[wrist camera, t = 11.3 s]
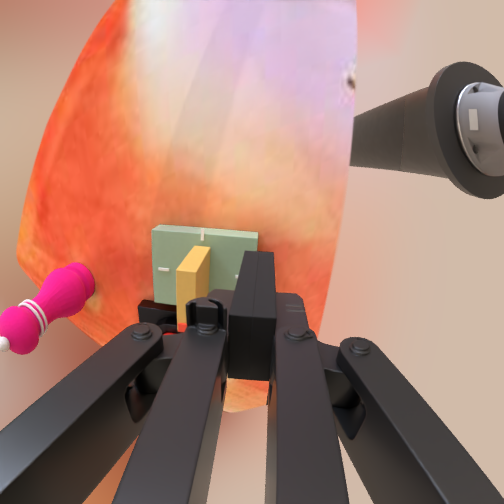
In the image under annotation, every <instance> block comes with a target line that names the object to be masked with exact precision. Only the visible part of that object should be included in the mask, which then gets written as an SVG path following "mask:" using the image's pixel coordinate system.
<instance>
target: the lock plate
mask: <svg viewBox="0 0 504 504" xmlns="http://www.w3.org/2000/svg"><path fill="white" fill-rule="evenodd" d="M257 245H258V232H249V231H238V230H226V229H214V228H201V227H188V226H175V225H161V224H160V225H158V226H156V227H155V228H153V229H152V267H153V287H154V302H156V303H164V304H171V305H177V300H176V269H177V268H178V267H179V265H180V264H181V263H182V261H183V260H184V259H185V257H186V256H187V255H188V253H189V252H190V251H191V250H192V248H193V247H194V246H205V247H210V248H211V250H210V271H209V292H211V291H212V290H214V289H225V290H235V287H236V283H237V279H238V275H239V271H240V267H241V263H242V259H243V256H244V252H245V250H246V251H257Z"/></svg>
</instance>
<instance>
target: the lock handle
mask: <svg viewBox="0 0 504 504" xmlns="http://www.w3.org/2000/svg"><path fill="white" fill-rule="evenodd" d="M210 250H211V248H210V247H205V246H194V247H193V248H192V250H191V251H190V252H189V253H188V255H187V256H186V257H185V259H184V260H183V261H182V263H181V264H180V265H179V267H178V268H177V269H176V300H177V330H178V332H185V329H186V327H187V323H186V306H185V304H186V303H187V302H188V301H190V300H192V299H195V298H200V297H207V295H208V293H209V271H210Z"/></svg>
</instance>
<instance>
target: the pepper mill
mask: <svg viewBox="0 0 504 504" xmlns="http://www.w3.org/2000/svg"><path fill="white" fill-rule="evenodd" d="M94 289H95V283H94V279H93V276H92V274H91V273H90V271H89V270H88V269H87V268H86V267H85V266H84V265H82V264H80V263H71V264H69V265H68V266H66V267H64V268H59V269H56V270H54V271H53V272H51V273H50V274H49V275H48V276H47V278H46V279H45V281H44V283H43V285H42V287H41V290H40V292H39V293H38V295H37V296H36V297H35V298H34V299H32V300H28V299H27V300H24V301H23V302H22V303H20V304H19V306H18V307H17V306H12V307H9V308H7V309H6V310H5V311H4V312H3V313H2V315H1V316H0V336H1V337H0V350H1V351H3V352H6V351H8V350H9V349H10V350H11V351H13V352H15V353H17V354H21V355H23V354H28V353H30V352H31V351H33V350H34V349H35V347H36V346H37V345H38V341H39V338H40V337H42V335H43V334H44V333H46V332H47V329H48V325H49V324H50V323H51V322H52V321H53V320H55V319H57V318H61V317H69V316H72V315H75V314H76V313H78V312H79V311H80V310H81V309H82V308H83V306H84V304H85V301H86V300H87V299H89V298H90V297H91V296H92V294H93V293H94Z"/></svg>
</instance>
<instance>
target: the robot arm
mask: <svg viewBox="0 0 504 504" xmlns="http://www.w3.org/2000/svg"><path fill="white" fill-rule="evenodd" d="M453 116H454V127H455V132H456V136H457V140H458V143H459V145H460V148H461V150H462V152H463V154H464V156H465V157H466V159H467V161H468V162H469V163H470V164H471V166H472V167H473V168H474V169H475V170H477V171H478V172H480V173H481V174H484V175H488V176H503V175H504V88H503V87H499V86H495V85H491V84H487V83H472V84H468V85H466V86H464V87H463V88H462V89H461V90H460V91H459V93H458V94H457V97H456V100H455V104H454V113H453ZM185 306H186V323H187V327H186V329H185V332H183V333H179V334H170V335H162V330H161V329H160V327H159V326H157V325H155V324H152V323H145V322H143V323H136V324H133V325H131V326H129V327H127V328H126V329H124V330H123V331H122V332H120V333H119V334H118V335H117V336H115V337H114V338H113V339H112V340H110V341H109V342H108V343H107V344H105V345H104V346H103V347H102V348H100V349H99V350H98V351H97V352H96V353H94V354H93V355H92V356H90V357H89V358H88V359H87V360H86V361H84V362H83V363H82V364H81V365H79V366H78V367H77V368H76V369H74V370H73V371H72V372H71V373H69V374H68V375H67V376H66V377H65V378H63V379H62V380H61V381H60V382H58V383H57V384H56V385H55V386H54V387H53V388H51V389H50V390H49V391H48V392H46V393H45V394H44V395H43V396H42V397H40V398H39V399H38V400H37V401H35V402H34V403H33V404H32V405H31V406H29V407H28V408H27V409H26V410H25V411H24V412H22V413H21V414H20V415H19V416H18V417H17V418H15V419H14V420H13V421H12V422H11V423H9V424H8V425H7V426H6V427H5V428H3V429H2V430H1V431H0V504H82V503H83V502H84V501H85V500H86V498H87V497H88V496H89V495H90V494H91V492H92V491H93V490H94V489H95V488H96V487H97V485H98V484H99V483H100V482H101V481H102V479H103V478H104V477H105V476H106V474H107V473H108V472H109V471H110V470H111V468H112V467H113V466H114V464H116V462H117V461H118V460H119V459H120V457H121V456H122V455H123V454H124V452H125V451H126V450H127V449H128V448H129V446H130V445H131V444H132V443H133V441H134V440H135V439H136V438H137V436H138V435H139V437H138V439H137V441H136V444H135V446H134V449H133V451H132V454H131V456H130V458H129V461H128V463H127V466H126V468H125V471H124V473H123V476H122V478H121V481H120V483H119V486H118V488H117V491H116V494H115V496H114V499H113V501H112V504H206V502H207V496H208V490H209V484H210V479H211V473H212V468H213V461H214V456H215V451H216V444H217V439H218V433H219V428H220V422H221V416H222V411H223V405H224V400H225V394H226V388H227V373H228V378H234V379H246V380H259V381H269V379H270V382H269V389H268V396H267V404H266V405H268V424H267V425H268V426H267V458H266V484H265V504H349V498H348V492H347V485H346V479H345V474H344V468H343V462H342V457H341V450H340V445H339V440H338V436H339V438H340V440H341V442H342V444H343V446H344V448H345V450H346V452H347V453H348V455H349V457H350V459H351V461H352V463H353V465H354V467H355V468H356V471H357V473H358V474H359V476H360V478H361V480H362V482H363V484H364V486H365V488H366V490H367V491H368V494H369V495H370V497H371V499H372V501H373V503H374V504H504V498H502V496H501V495H500V493H499V492H498V490H497V489H496V488H495V487H494V485H493V484H492V483H491V481H490V480H489V479H488V477H487V476H486V475H485V474H484V472H483V471H482V470H481V468H480V467H479V466H478V465H477V463H476V462H475V461H474V460H473V458H472V457H471V456H470V455H469V453H468V452H467V451H466V450H465V448H464V447H463V446H462V445H461V443H460V442H459V441H458V440H457V438H456V437H455V436H454V435H453V434H452V432H451V431H450V430H449V429H448V428H447V426H446V425H445V424H444V423H443V421H442V420H441V419H440V418H439V417H438V416H437V414H436V413H435V412H434V411H433V410H432V409H431V407H430V406H429V405H428V404H427V403H426V401H425V400H424V399H423V398H422V397H421V396H420V394H419V393H418V392H417V391H416V390H415V388H414V387H413V386H412V385H411V384H410V383H409V382H408V380H407V379H406V378H405V377H404V376H403V375H402V374H401V372H400V371H399V370H398V369H397V368H396V367H395V366H394V364H393V363H392V362H391V361H390V360H389V359H388V358H387V357H386V355H385V354H384V353H383V352H382V351H381V350H380V349H379V348H378V346H376V345H375V344H374V343H373V342H372V341H369V340H367V339H365V338H360V337H350V338H347V339H344V340H343V341H342V342H341V343H340V347H336V346H332V345H328V344H324V343H322V342H320V341H318V340H317V337H316V335H315V333H314V331H312V330H311V329H309V325H308V321H307V316H306V312H305V307H304V303H303V299H302V298H301V297H300V296H299V295H298V294H295V293H278V292H276V288H275V269H274V252H261V251H246V250H245V252H244V256H243V259H242V263H241V267H240V271H239V275H238V279H237V283H236V287H235V290H225V289H214V290H212V291H211V292H209V293H208V295H207V297H200V298H195V299H192V300H190V301H188V302H187V303H186V304H185Z"/></svg>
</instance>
